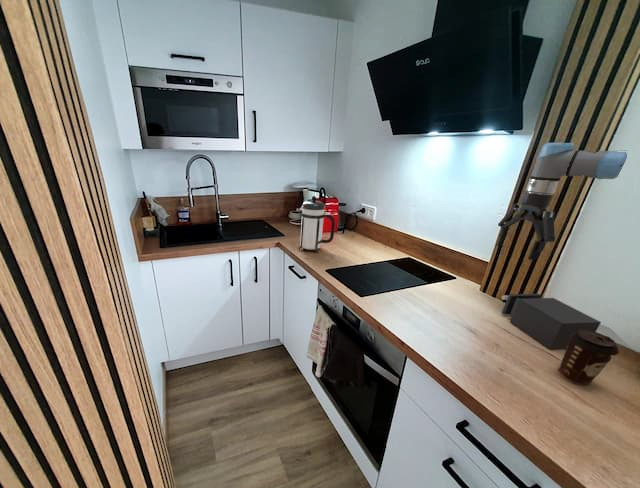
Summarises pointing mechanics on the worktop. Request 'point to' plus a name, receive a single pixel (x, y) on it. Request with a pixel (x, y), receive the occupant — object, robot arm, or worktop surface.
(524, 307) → the dark grey low box
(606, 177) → the robot arm
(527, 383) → the worktop surface
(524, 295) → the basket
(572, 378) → the coffee cup
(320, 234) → the coffee press
